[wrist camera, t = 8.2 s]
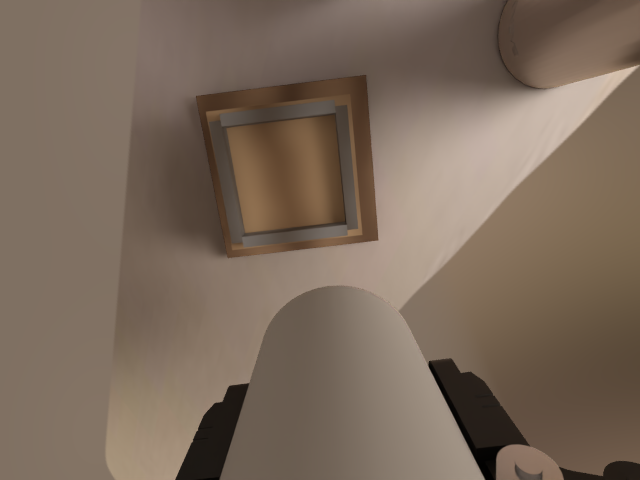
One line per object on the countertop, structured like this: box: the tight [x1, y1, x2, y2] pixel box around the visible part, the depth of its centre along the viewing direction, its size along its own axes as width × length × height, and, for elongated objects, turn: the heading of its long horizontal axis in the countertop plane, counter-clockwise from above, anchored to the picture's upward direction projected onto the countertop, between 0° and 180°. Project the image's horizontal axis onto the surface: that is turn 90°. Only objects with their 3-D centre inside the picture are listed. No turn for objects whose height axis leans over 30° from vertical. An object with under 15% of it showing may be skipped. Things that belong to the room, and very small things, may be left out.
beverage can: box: [220, 286, 485, 480], centre depth 9 cm, size 6×6×12 cm
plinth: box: [196, 75, 378, 258], centre depth 27 cm, size 14×14×8 cm
